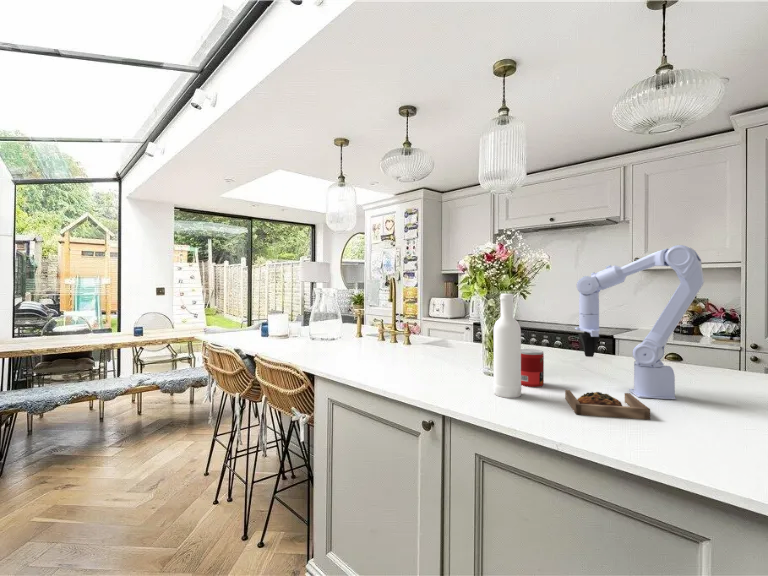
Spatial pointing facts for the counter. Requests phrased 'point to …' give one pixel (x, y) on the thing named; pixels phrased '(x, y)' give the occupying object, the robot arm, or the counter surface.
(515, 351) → the bottle
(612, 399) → the mushroom cheese tart
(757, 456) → the counter surface
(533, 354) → the canned food
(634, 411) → the wooden u-shaped frame
